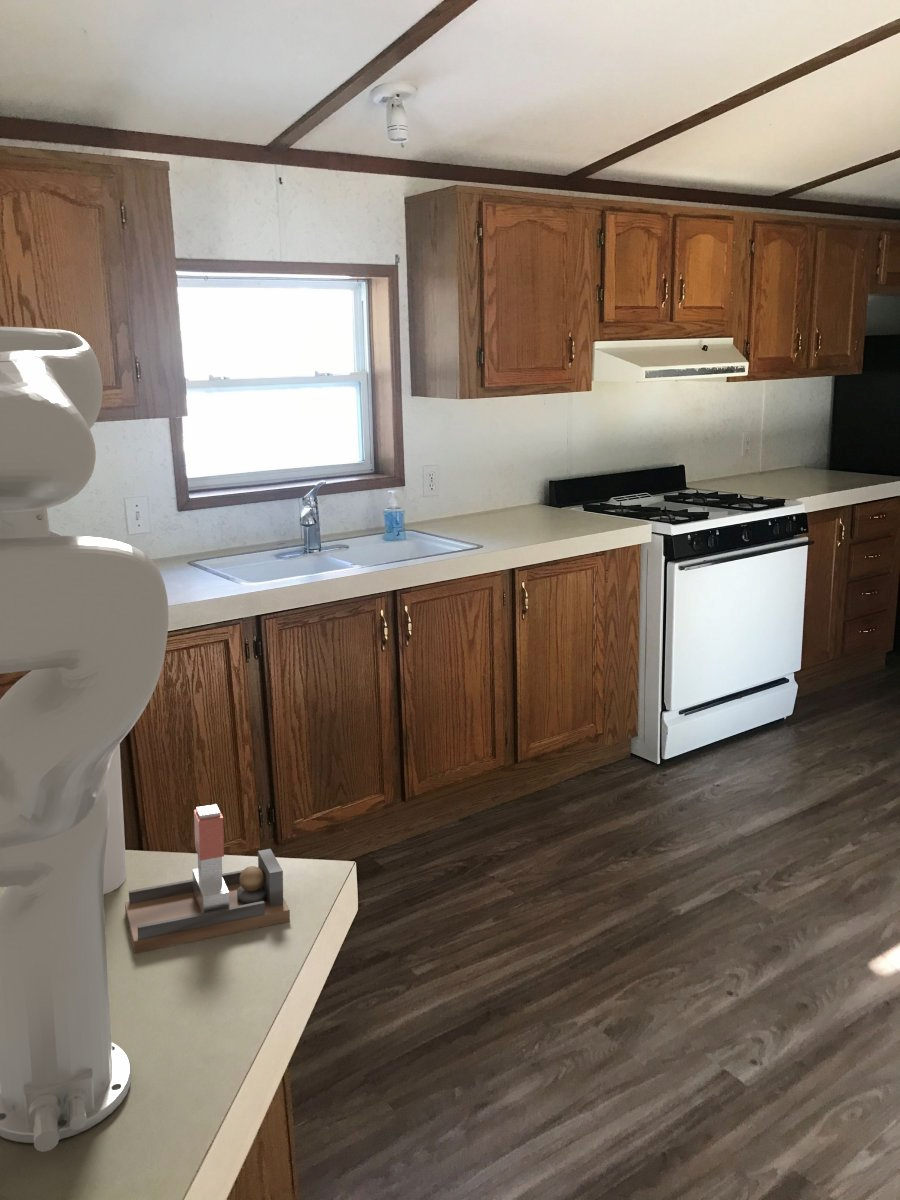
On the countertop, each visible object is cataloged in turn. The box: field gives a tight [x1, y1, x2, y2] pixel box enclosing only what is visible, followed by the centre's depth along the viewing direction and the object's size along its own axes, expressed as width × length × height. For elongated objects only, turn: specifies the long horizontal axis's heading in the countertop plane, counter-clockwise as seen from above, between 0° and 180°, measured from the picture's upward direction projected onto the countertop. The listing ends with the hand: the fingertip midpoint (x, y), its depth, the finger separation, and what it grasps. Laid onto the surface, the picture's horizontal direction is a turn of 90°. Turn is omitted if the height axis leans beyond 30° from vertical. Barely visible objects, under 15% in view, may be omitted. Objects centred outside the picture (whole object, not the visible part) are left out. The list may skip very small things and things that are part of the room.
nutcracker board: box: [124, 848, 291, 954], centre depth 117 cm, size 9×18×6 cm, turn 114°
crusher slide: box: [192, 803, 229, 913], centre depth 116 cm, size 7×3×12 cm, turn 24°
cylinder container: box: [103, 743, 127, 895], centre depth 122 cm, size 9×9×30 cm
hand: (2, 630), depth 99 cm, fingers open, 9 cm apart
